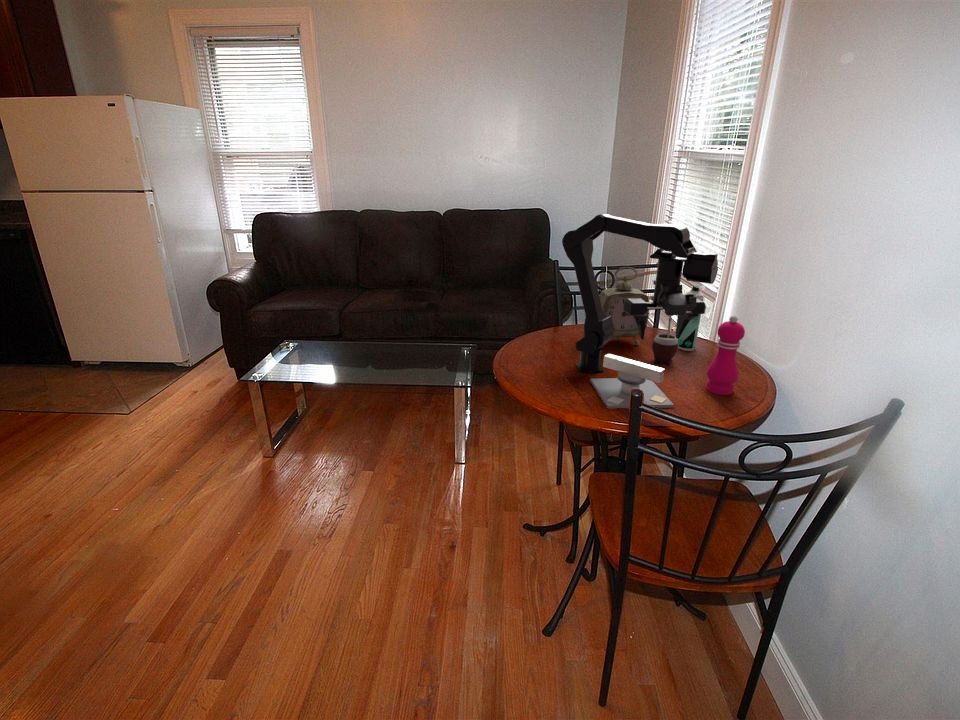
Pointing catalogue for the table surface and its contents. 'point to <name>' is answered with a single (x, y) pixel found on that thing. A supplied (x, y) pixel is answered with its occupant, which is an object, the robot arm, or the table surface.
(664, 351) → the mate gourd
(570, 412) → the table surface
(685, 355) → the table surface
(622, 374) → the handle
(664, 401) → the base
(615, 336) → the tabletop clock
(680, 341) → the spray can
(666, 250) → the robot arm
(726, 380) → the pepper mill
